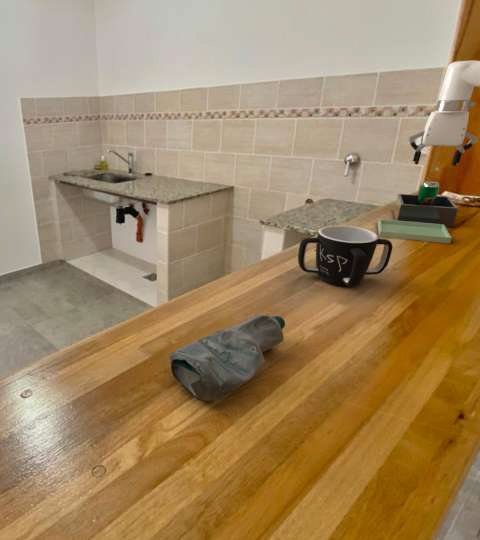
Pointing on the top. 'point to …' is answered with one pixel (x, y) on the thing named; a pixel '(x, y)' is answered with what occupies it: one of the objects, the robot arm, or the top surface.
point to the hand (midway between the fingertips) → (434, 164)
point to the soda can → (427, 193)
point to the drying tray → (414, 231)
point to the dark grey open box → (425, 210)
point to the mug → (344, 254)
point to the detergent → (226, 356)
